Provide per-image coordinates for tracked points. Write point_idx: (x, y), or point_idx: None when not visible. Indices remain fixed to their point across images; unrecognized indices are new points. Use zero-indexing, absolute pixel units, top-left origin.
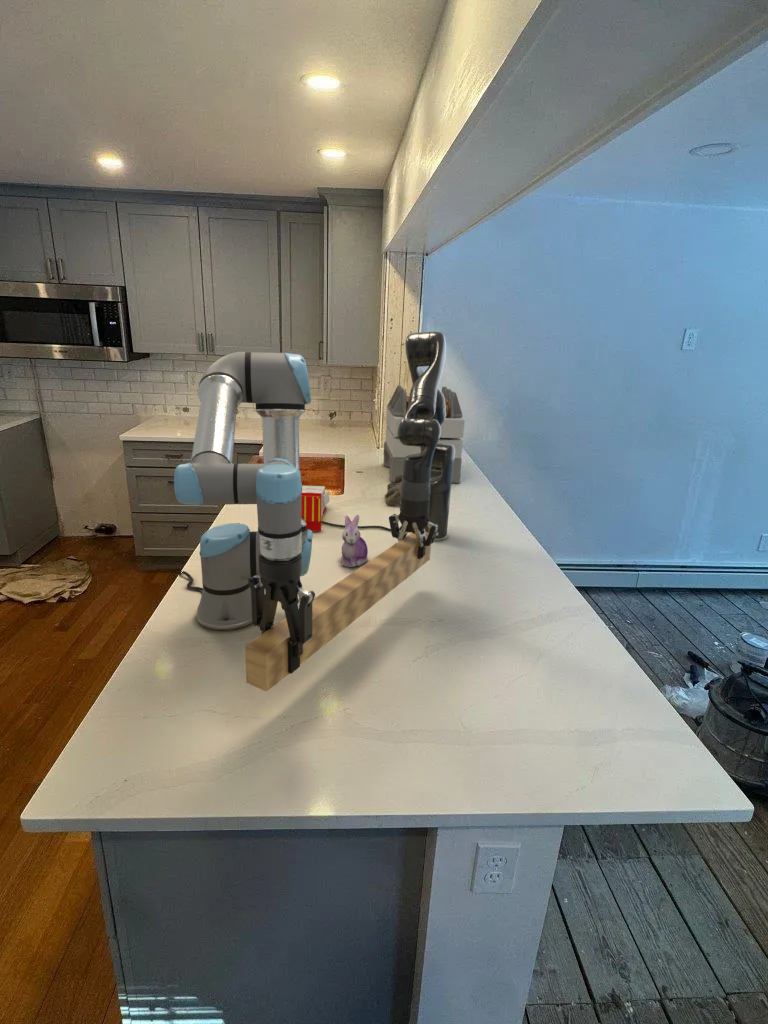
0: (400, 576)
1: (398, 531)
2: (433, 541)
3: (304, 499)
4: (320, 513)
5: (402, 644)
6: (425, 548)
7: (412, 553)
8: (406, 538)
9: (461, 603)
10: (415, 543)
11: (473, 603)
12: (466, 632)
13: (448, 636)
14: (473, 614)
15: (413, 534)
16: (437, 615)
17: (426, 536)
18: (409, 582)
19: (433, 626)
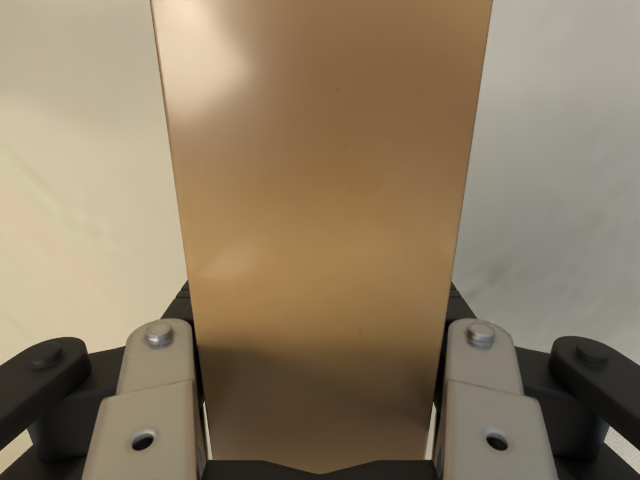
0: None
1: (51, 403)
2: (628, 362)
3: None
4: None
5: (428, 434)
6: (471, 316)
7: None
8: (239, 398)
9: (550, 99)
10: (402, 455)
11: (606, 64)
12: (601, 296)
13: (545, 344)
14: (615, 164)
15: (238, 232)
16: (476, 249)
17: (451, 186)
18: None
19: (483, 319)
